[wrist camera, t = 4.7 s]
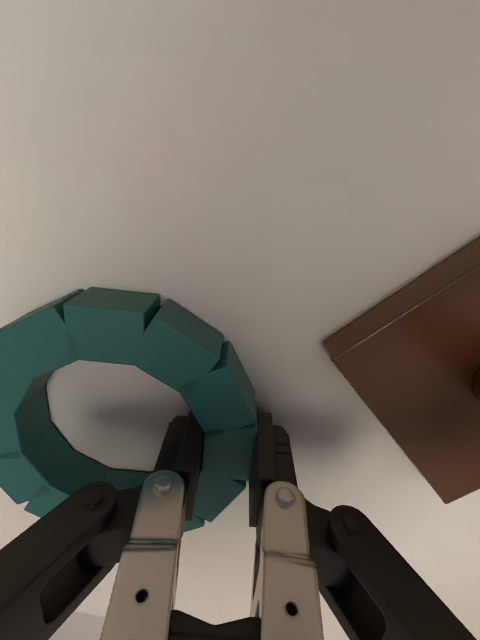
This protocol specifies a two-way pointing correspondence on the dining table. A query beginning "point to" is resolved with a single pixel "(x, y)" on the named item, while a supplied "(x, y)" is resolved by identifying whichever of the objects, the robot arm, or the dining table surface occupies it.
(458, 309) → the post
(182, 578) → the dining table surface
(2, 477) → the ring
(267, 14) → the dining table surface
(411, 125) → the dining table surface
